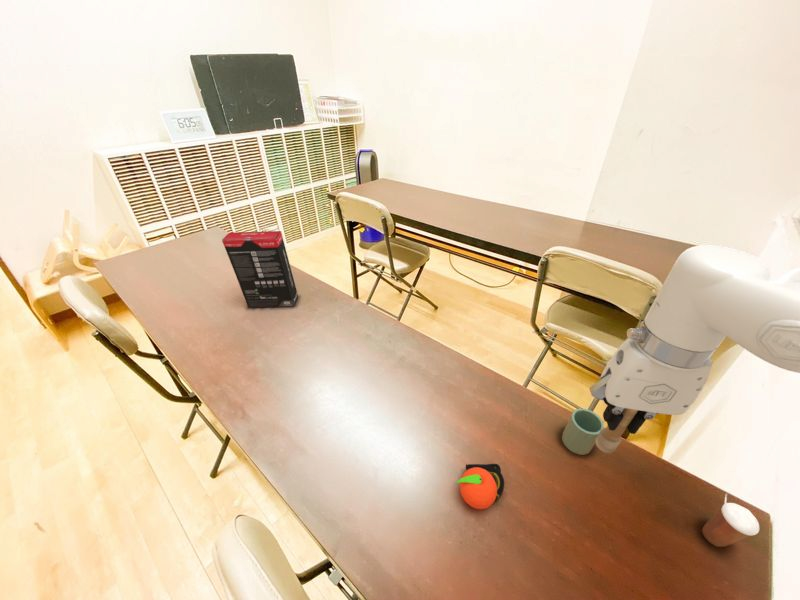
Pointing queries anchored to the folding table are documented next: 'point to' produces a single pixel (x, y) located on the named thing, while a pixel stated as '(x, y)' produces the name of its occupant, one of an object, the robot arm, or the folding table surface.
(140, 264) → the folding table surface
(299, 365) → the folding table surface
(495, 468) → the tape measure
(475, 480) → the clementine
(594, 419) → the cup
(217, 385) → the folding table surface
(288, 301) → the graphics card box
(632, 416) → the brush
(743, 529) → the milkshake
